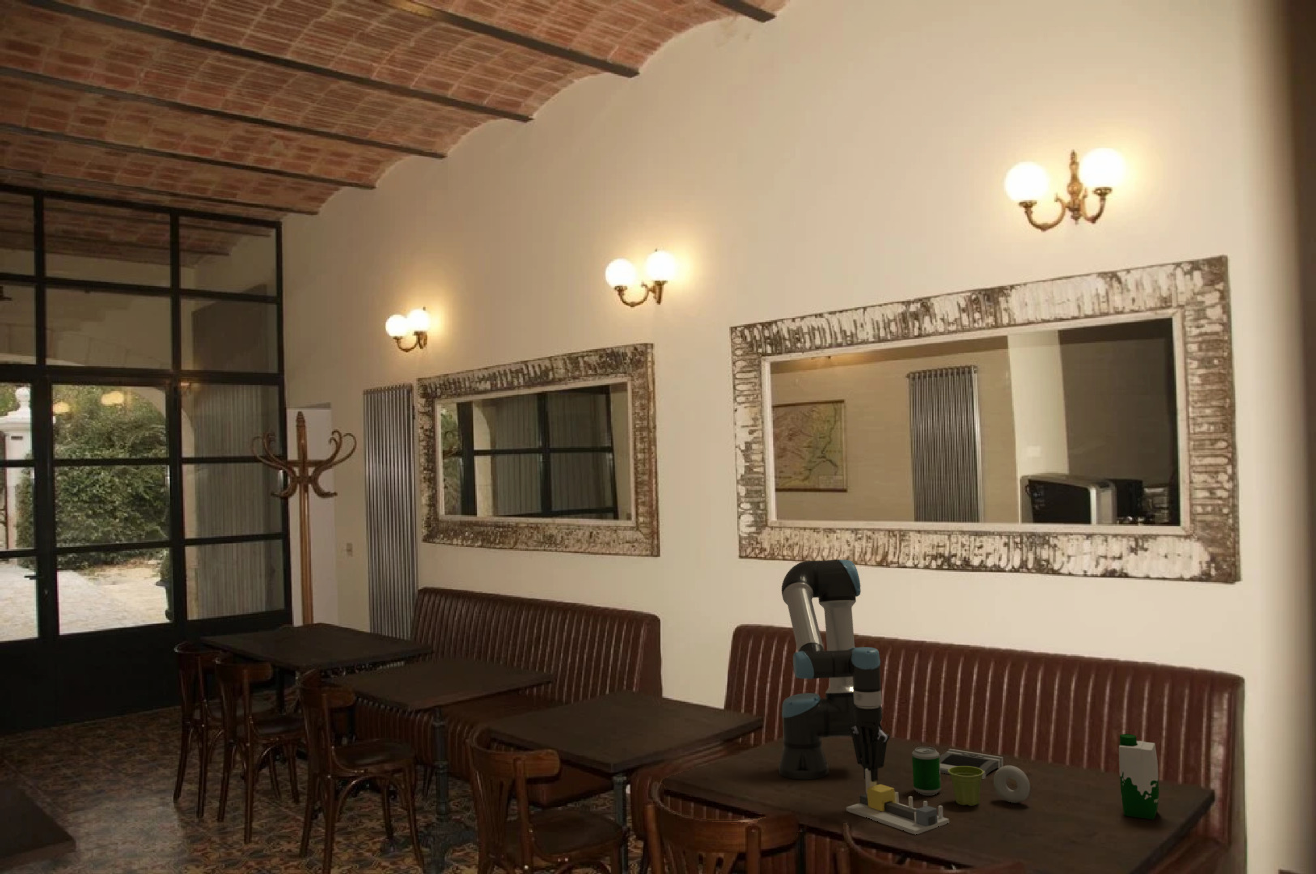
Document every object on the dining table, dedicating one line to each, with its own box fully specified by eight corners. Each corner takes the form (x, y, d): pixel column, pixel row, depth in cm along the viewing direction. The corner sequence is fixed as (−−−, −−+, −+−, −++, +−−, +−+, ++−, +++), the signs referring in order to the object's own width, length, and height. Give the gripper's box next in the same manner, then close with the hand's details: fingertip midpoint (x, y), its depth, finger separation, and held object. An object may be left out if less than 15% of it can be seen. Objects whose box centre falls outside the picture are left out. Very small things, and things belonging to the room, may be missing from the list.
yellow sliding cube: (867, 806, 275) (867, 788, 275) (881, 802, 278) (880, 784, 278) (881, 811, 271) (881, 792, 271) (895, 807, 274) (894, 788, 274)
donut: (1032, 804, 276) (1031, 767, 277) (1028, 807, 274) (1026, 770, 274) (997, 797, 283) (995, 761, 283) (992, 801, 280) (990, 764, 281)
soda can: (941, 796, 285) (940, 753, 286) (914, 796, 287) (912, 753, 287) (940, 788, 293) (938, 746, 293) (913, 787, 294) (911, 746, 294)
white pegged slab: (846, 811, 276) (845, 793, 276) (879, 800, 284) (878, 784, 284) (915, 835, 257) (914, 816, 257) (949, 823, 264) (948, 805, 264)
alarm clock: (1003, 757, 311) (981, 765, 299) (1003, 772, 311) (981, 782, 298) (950, 748, 322) (926, 756, 310) (950, 763, 322) (927, 772, 310)
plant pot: (967, 810, 273) (965, 778, 274) (942, 801, 282) (940, 769, 282) (992, 804, 278) (991, 772, 278) (967, 795, 286) (966, 763, 286)
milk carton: (1124, 806, 272) (1120, 731, 273) (1161, 811, 268) (1157, 734, 268) (1119, 816, 265) (1115, 739, 266) (1158, 821, 260) (1154, 742, 261)
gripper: (840, 703, 281) (844, 790, 280) (876, 711, 271) (879, 801, 270) (859, 699, 286) (863, 784, 285) (895, 707, 275) (899, 795, 274)
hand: (871, 792), depth 277 cm, fingers closed
